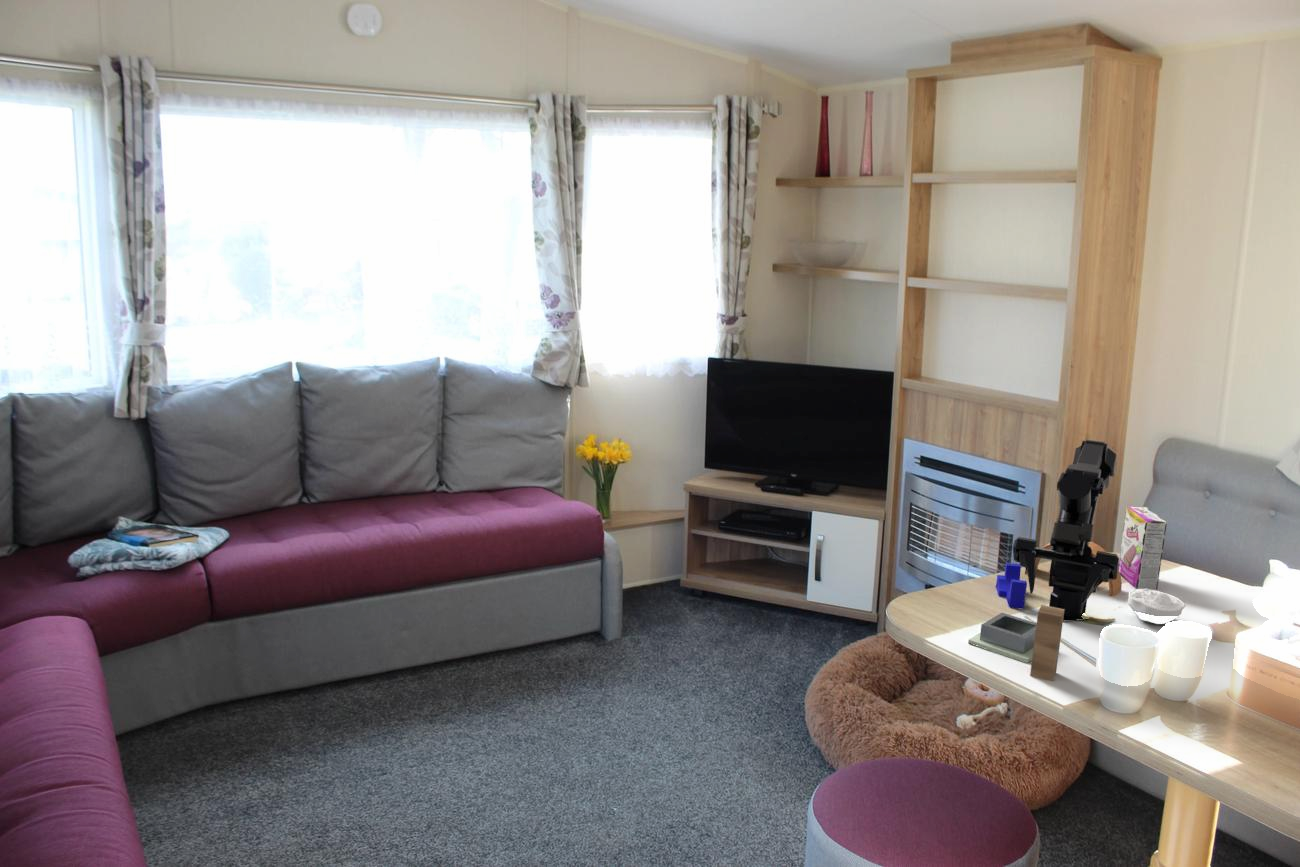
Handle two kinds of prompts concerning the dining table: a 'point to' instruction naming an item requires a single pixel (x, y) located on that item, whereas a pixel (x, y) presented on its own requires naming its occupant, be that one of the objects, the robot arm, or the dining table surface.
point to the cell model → (1155, 603)
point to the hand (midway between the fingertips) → (1056, 597)
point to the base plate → (1002, 650)
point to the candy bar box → (1142, 547)
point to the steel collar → (1009, 632)
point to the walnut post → (1047, 642)
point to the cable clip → (1012, 586)
